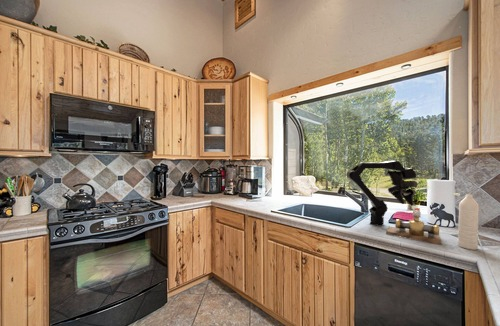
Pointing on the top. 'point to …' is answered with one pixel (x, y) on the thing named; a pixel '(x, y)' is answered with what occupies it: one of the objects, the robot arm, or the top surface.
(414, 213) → the valve lever
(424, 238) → the valve board
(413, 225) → the valve body
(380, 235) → the top surface
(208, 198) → the top surface
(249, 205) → the top surface
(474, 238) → the water bottle
